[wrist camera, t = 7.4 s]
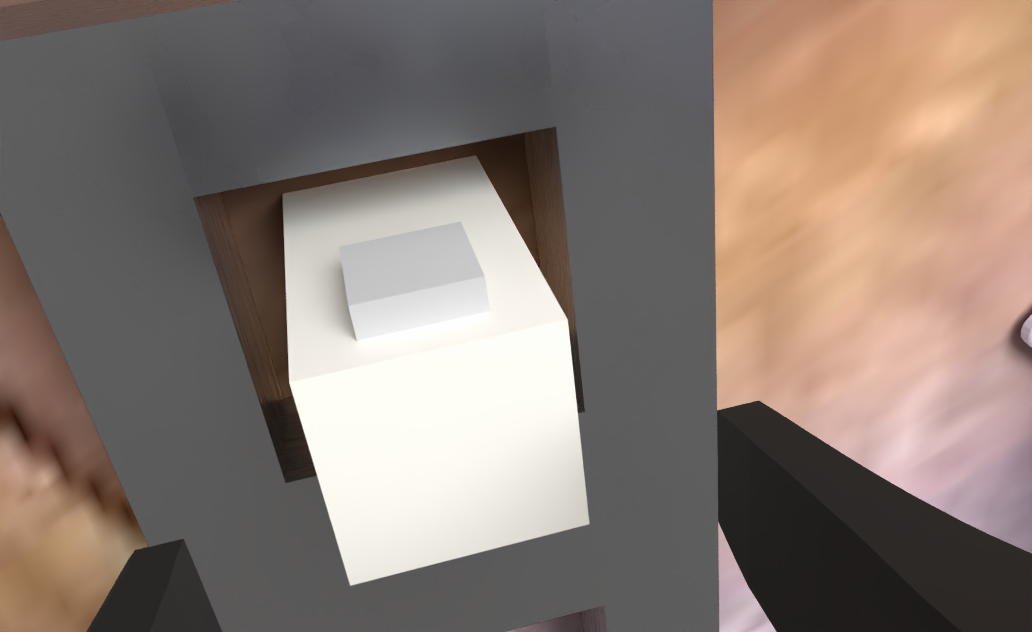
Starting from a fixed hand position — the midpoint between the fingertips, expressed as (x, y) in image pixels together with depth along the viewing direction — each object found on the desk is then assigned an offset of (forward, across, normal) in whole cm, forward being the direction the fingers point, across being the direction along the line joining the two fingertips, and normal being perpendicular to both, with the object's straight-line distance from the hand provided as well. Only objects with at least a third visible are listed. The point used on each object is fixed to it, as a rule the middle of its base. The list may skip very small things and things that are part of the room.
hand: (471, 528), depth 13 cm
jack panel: (+9, 0, +6) cm, 11 cm away
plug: (+9, 0, 0) cm, 9 cm away
